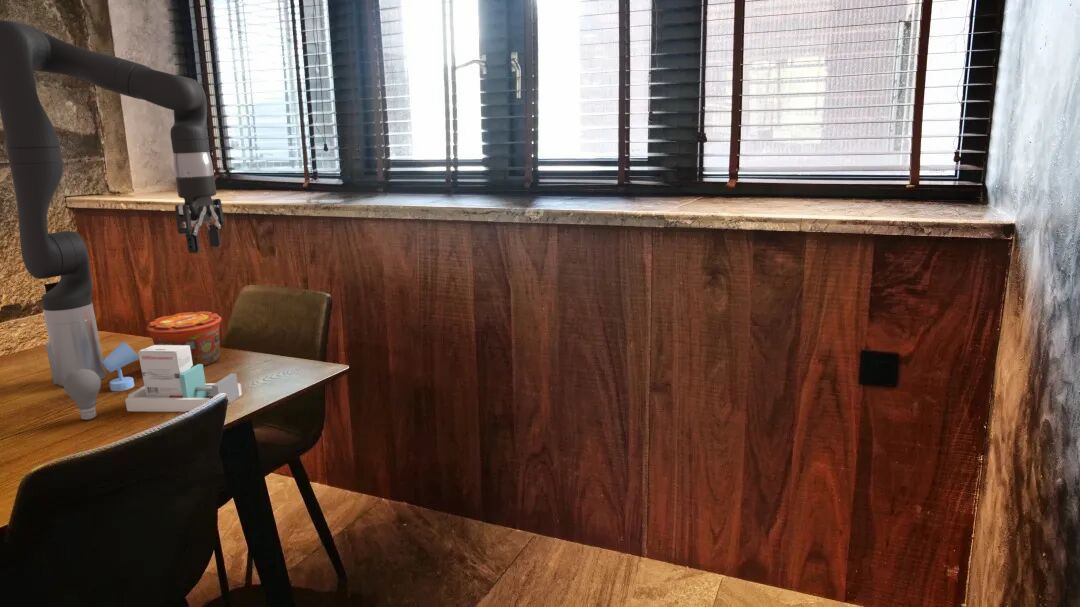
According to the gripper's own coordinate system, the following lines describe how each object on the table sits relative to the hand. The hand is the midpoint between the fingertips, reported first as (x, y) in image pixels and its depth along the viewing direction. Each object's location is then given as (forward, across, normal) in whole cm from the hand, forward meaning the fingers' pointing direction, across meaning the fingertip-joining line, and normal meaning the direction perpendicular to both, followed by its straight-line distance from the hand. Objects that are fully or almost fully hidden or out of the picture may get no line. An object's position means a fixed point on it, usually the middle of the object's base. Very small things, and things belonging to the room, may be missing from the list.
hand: (205, 249), depth 159 cm
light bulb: (+28, -27, +12) cm, 41 cm away
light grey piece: (+28, -19, -2) cm, 34 cm away
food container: (+28, +7, +12) cm, 32 cm away
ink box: (+28, -19, 0) cm, 34 cm away
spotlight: (+28, -10, +17) cm, 34 cm away
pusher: (+28, -19, -7) cm, 34 cm away
